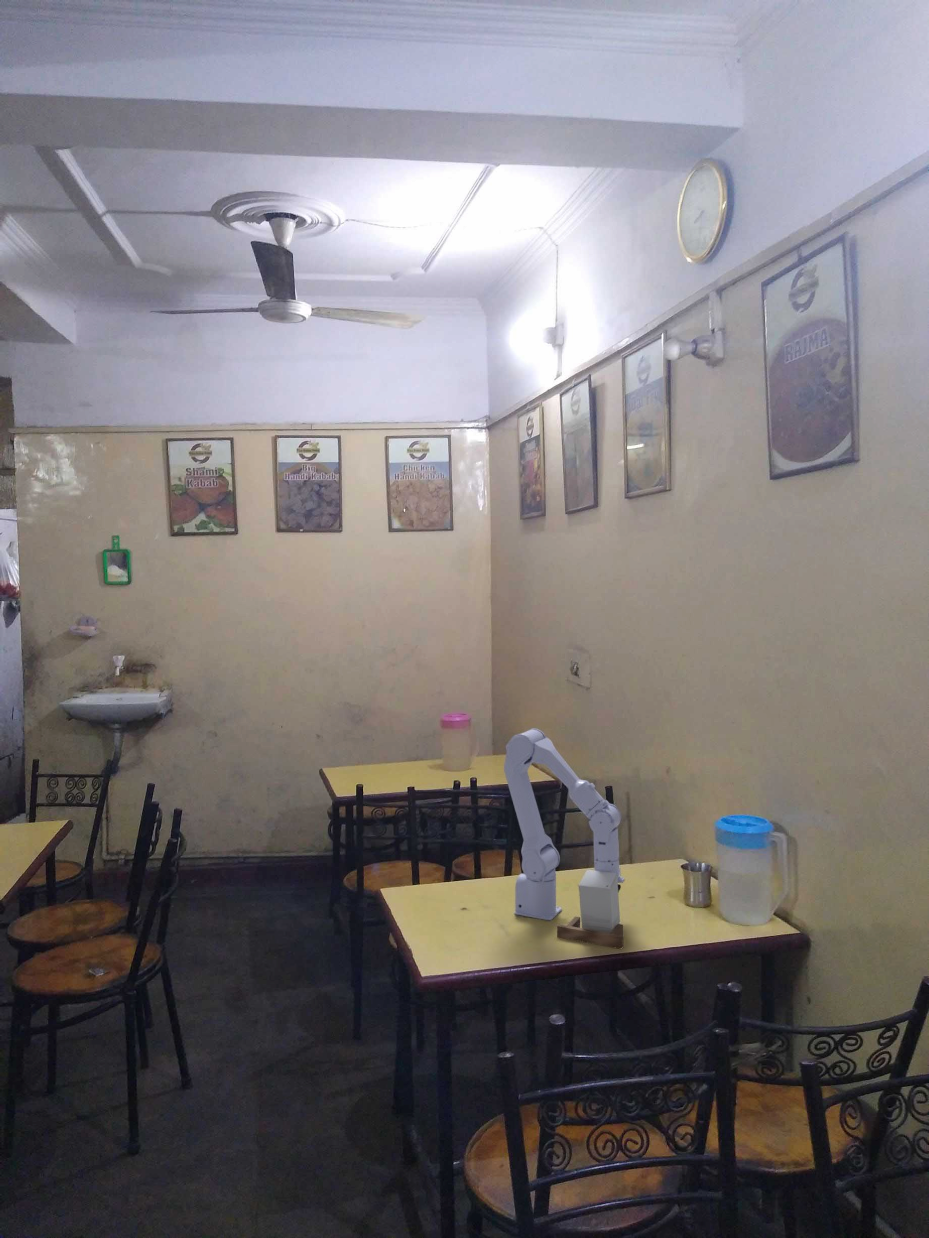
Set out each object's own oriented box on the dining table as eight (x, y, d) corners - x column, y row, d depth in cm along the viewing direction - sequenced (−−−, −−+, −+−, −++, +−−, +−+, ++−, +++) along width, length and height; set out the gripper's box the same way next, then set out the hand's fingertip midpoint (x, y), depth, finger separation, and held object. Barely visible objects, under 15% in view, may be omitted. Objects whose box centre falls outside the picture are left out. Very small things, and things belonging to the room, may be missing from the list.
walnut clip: (557, 936, 202) (557, 925, 202) (567, 925, 208) (567, 914, 208) (621, 948, 195) (621, 937, 195) (631, 936, 202) (631, 925, 201)
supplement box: (621, 921, 207) (618, 872, 204) (612, 940, 200) (610, 889, 197) (590, 916, 210) (587, 868, 207) (581, 934, 203) (577, 884, 200)
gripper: (614, 869, 199) (616, 929, 200) (632, 851, 212) (634, 907, 213) (583, 866, 202) (585, 925, 203) (603, 848, 215) (605, 903, 216)
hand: (608, 916), depth 208 cm, fingers closed, pressing on supplement box
